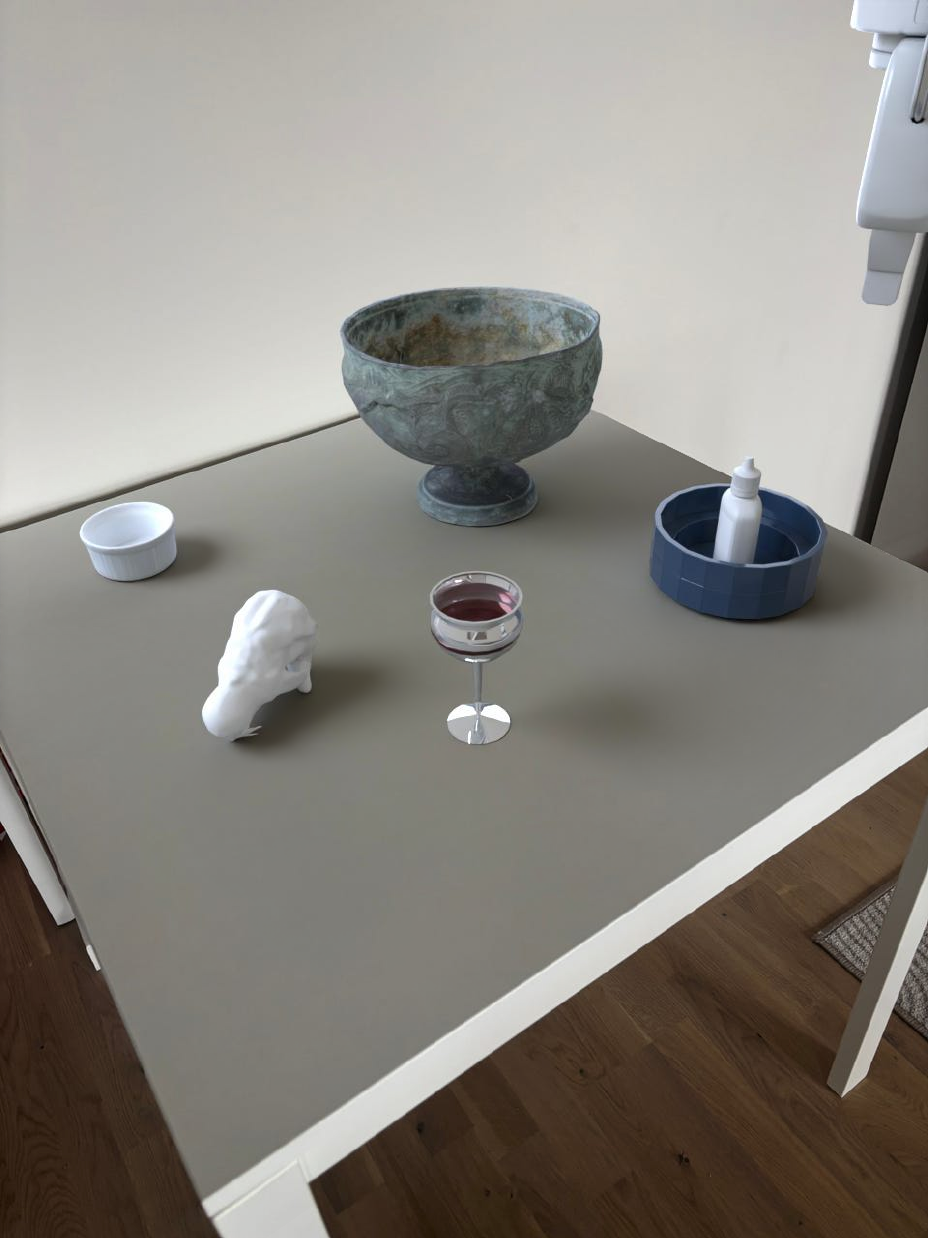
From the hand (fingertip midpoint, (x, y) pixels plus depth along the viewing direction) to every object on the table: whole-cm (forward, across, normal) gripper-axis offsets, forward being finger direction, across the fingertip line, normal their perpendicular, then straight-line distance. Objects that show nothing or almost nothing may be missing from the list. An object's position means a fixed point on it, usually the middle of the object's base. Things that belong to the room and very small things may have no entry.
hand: (886, 276), depth 55 cm
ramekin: (+34, 0, +63) cm, 72 cm away
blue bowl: (+34, +19, +8) cm, 40 cm away
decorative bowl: (+34, +25, +37) cm, 56 cm away
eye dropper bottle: (+34, +19, +8) cm, 39 cm away
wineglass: (+34, -9, +22) cm, 42 cm away
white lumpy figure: (+34, -14, +39) cm, 54 cm away
